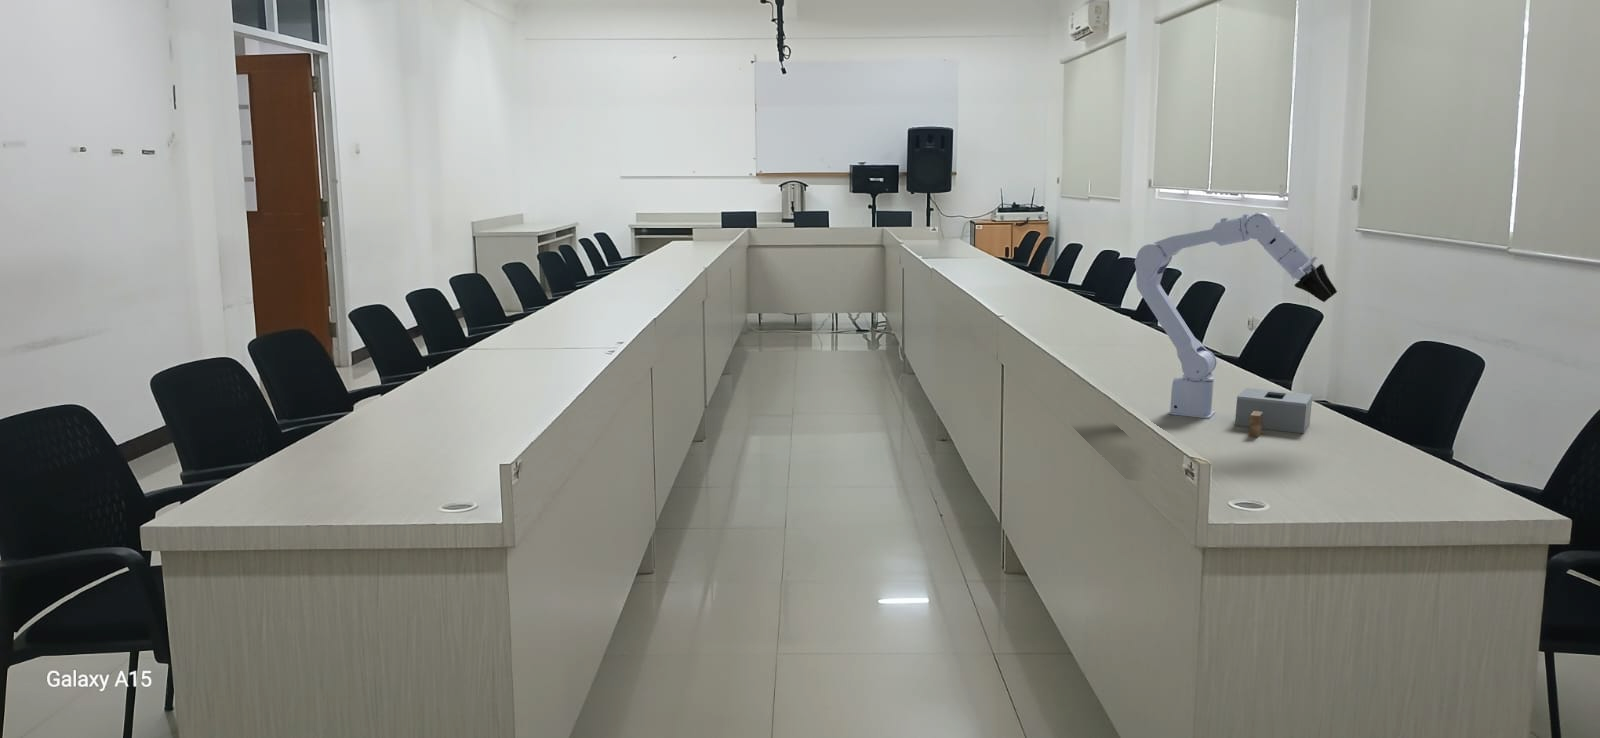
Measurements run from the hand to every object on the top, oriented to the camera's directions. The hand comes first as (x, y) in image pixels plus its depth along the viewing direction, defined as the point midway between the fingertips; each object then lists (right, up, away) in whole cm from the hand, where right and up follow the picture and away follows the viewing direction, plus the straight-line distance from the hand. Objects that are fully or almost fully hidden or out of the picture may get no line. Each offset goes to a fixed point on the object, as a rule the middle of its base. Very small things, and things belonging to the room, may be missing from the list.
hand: (1330, 297), depth 265 cm
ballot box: (-9, -30, +9) cm, 32 cm away
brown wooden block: (-18, -31, -1) cm, 36 cm away
